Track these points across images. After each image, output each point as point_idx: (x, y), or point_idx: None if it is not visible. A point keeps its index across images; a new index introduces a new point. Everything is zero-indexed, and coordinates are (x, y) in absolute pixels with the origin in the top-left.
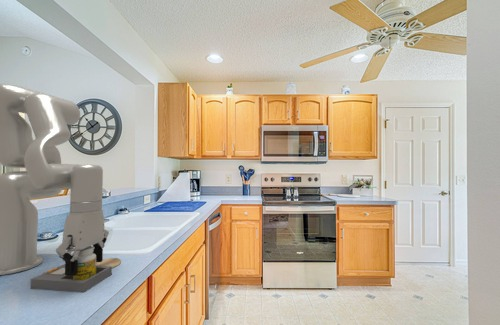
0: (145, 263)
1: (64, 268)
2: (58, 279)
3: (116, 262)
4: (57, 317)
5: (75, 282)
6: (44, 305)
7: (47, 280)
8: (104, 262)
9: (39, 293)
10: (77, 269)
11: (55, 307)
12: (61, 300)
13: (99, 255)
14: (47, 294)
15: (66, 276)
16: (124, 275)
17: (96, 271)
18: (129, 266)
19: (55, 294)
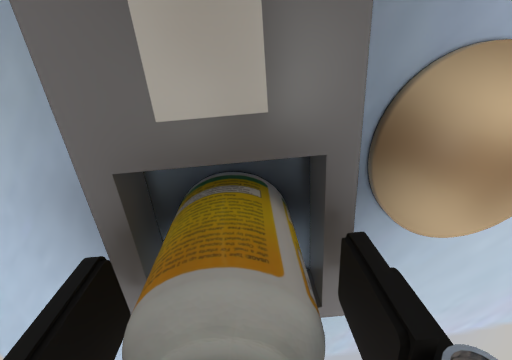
0: (462, 327)
1: (249, 21)
2: (97, 175)
3: (480, 212)
4: (5, 342)
5: (124, 296)
6: (8, 238)
7: (50, 101)
8: (492, 133)
9: (42, 92)
10: (116, 350)
11: (29, 289)
12: (70, 266)
13: (358, 343)
14: (62, 153)
15: (165, 166)
16: (328, 327)
17: (315, 232)
18: (430, 287)
19: (84, 194)
